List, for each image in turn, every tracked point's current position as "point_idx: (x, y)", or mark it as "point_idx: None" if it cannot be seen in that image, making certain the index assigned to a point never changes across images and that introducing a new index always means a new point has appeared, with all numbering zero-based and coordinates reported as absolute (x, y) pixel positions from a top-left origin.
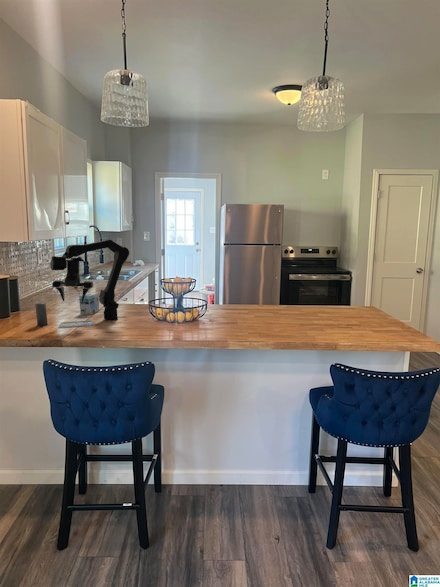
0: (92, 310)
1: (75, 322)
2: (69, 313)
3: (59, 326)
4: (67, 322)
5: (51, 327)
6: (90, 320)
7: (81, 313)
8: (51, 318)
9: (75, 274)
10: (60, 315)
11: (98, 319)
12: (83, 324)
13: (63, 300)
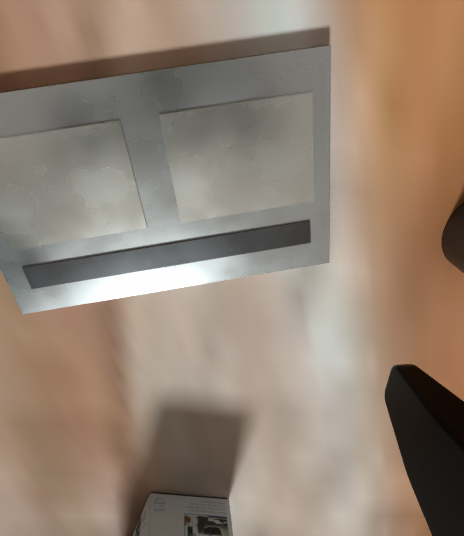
0: (140, 534)
1: (184, 241)
2: (307, 515)
3: (323, 68)
4: (266, 245)
5: (405, 104)
6: (50, 302)
7: (221, 503)
8: None
9: None
10: (358, 478)
11: (12, 365)
12: (50, 123)
13: (409, 374)
